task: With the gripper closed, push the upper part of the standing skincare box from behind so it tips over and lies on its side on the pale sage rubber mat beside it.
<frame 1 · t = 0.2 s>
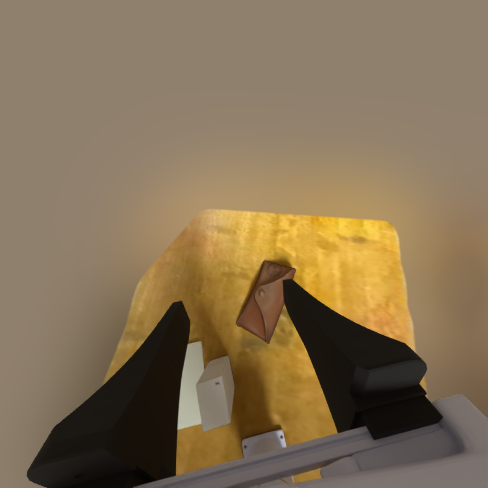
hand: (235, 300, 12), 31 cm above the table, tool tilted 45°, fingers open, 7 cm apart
skincare box: (222, 373, 37), on the table
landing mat: (171, 385, 36), on the table
sunglasses case: (265, 297, 43), on the table
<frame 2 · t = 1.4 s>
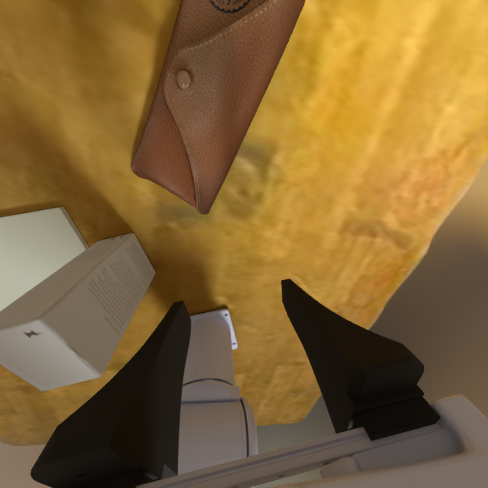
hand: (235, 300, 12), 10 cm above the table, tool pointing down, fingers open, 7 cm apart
skincare box: (130, 257, 21), on the table
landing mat: (37, 275, 20), on the table
sunglasses case: (205, 106, 16), on the table
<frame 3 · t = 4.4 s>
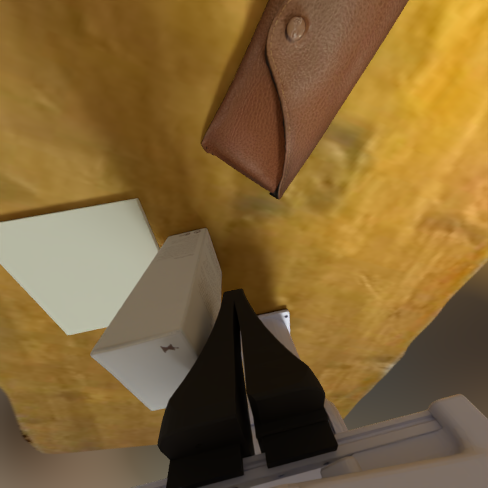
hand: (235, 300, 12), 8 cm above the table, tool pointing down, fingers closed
skincare box: (197, 254, 19), on the table, touching gripper
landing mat: (99, 274, 19), on the table
sunglasses case: (292, 72, 14), on the table
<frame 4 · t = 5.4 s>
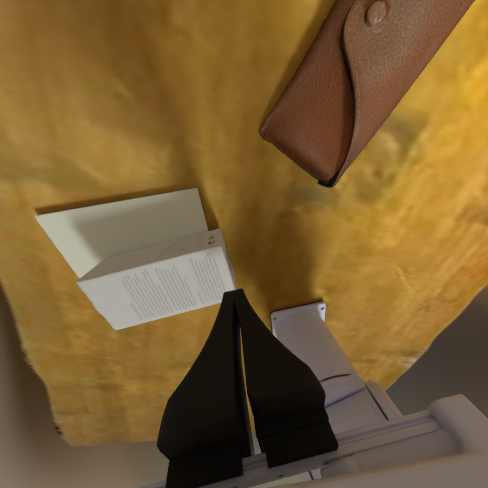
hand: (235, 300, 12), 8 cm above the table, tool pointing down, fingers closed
skincare box: (231, 261, 17), point 3 cm above the table, touching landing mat
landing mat: (150, 264, 19), on the table
sunglasses case: (352, 61, 14), on the table
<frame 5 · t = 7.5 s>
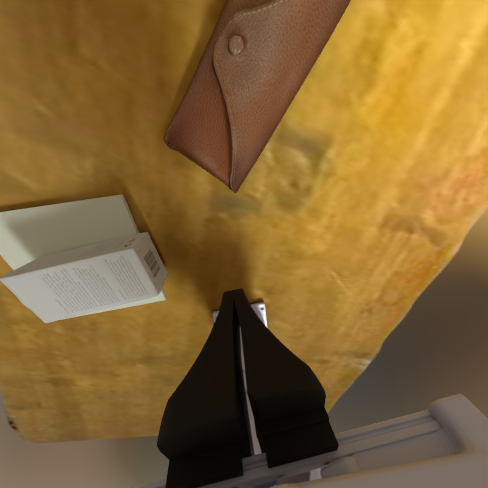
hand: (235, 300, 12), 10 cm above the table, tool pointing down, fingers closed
skincare box: (156, 262, 19), point 3 cm above the table, touching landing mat
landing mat: (87, 263, 20), on the table
sunglasses case: (246, 81, 16), on the table
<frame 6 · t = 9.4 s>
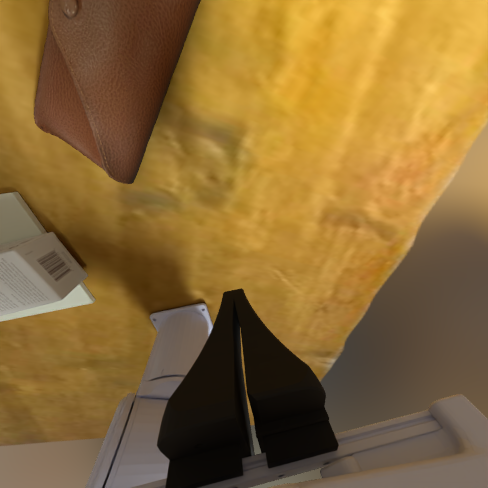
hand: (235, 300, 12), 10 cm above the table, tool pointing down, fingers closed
skincare box: (61, 264, 18), point 3 cm above the table, touching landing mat
sunglasses case: (123, 56, 14), on the table
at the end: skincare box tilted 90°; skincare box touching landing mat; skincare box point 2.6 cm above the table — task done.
